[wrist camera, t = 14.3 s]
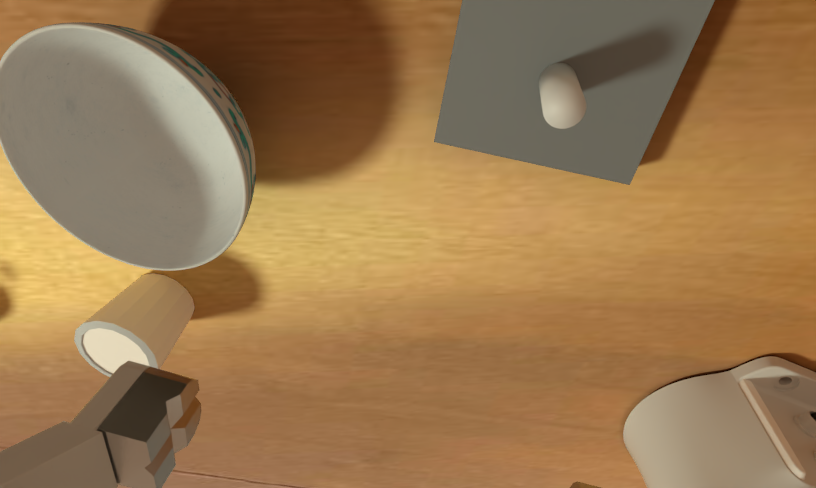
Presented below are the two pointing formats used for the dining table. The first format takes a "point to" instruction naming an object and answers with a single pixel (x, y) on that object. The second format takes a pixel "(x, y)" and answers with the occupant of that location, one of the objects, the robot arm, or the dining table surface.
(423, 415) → the dining table surface
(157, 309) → the shot glass
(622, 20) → the stand board
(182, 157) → the chinaware
